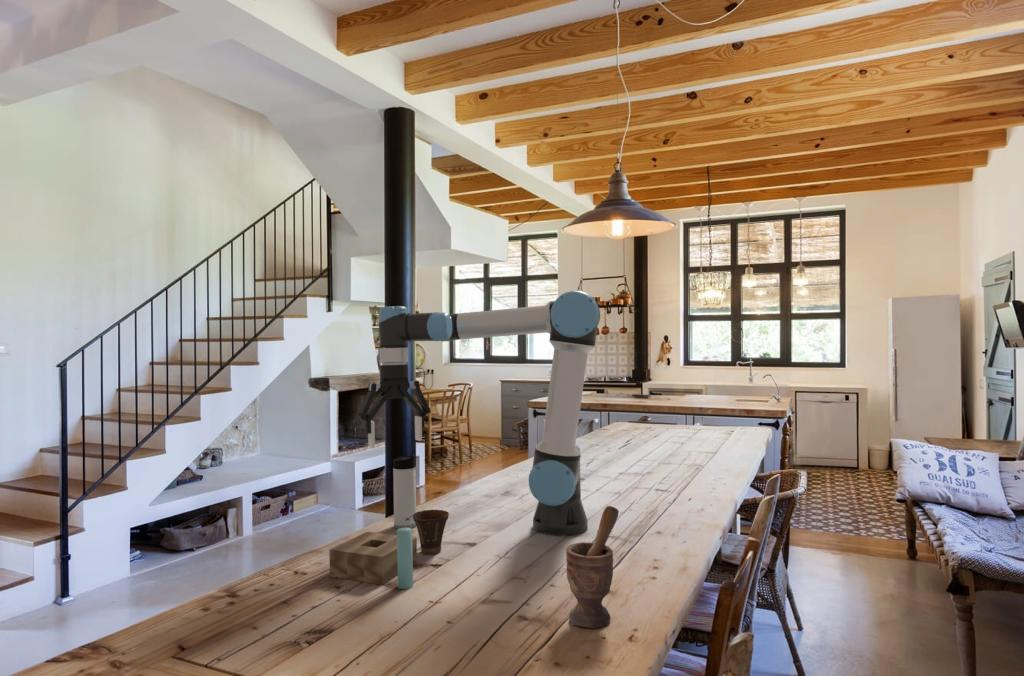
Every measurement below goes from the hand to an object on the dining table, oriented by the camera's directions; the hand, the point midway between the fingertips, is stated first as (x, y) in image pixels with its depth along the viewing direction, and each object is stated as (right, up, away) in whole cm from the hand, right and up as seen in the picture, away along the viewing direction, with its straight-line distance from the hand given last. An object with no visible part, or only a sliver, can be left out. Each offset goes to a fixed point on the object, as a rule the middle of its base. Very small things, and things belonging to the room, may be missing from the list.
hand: (395, 443), depth 168 cm
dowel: (+9, -25, -35) cm, 43 cm away
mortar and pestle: (+47, -24, -51) cm, 73 cm away
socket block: (0, -25, -25) cm, 35 cm away
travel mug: (+1, -25, +9) cm, 27 cm away
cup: (+11, -25, -13) cm, 30 cm away
